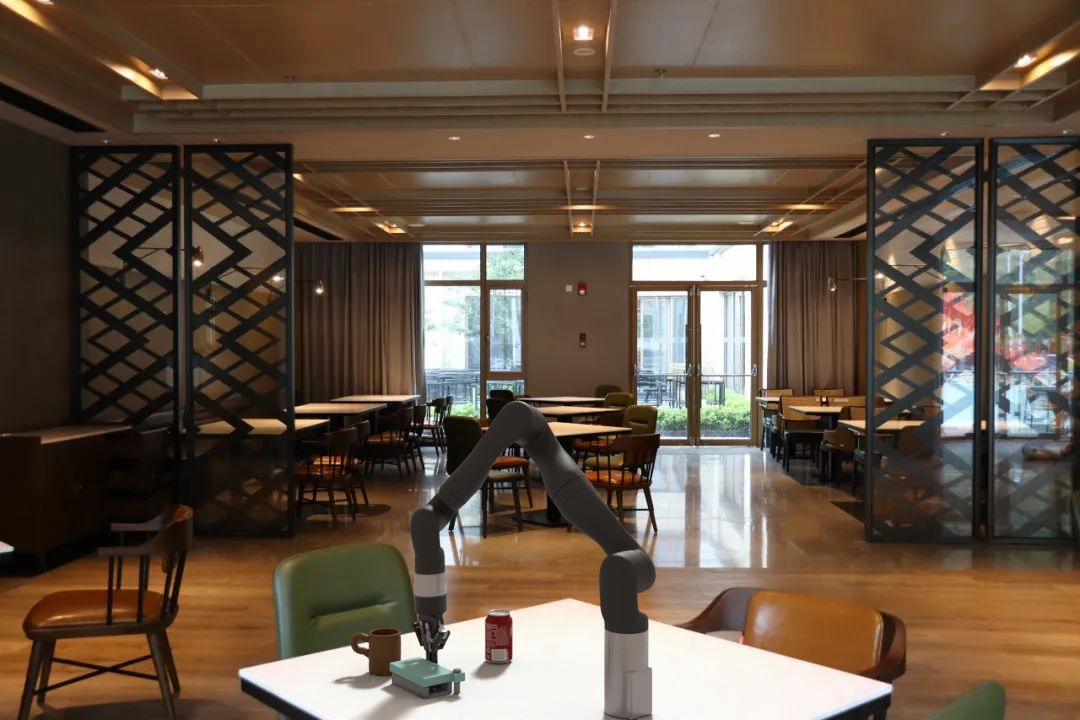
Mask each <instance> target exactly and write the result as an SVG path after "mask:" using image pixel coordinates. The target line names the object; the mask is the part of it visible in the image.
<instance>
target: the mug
mask: <svg viewBox="0 0 1080 720" xmlns="http://www.w3.org/2000/svg"><path fill="white" fill-rule="evenodd" d="M368 633H369V634H367V633H365V632H364V633H363V632H357V633H354V634H353V635H352V636H351V639H350V642H349V643H350V646H351V649H352V651H354V653H356V654H358V655H361V656H362V655H363V656H364V657H366V658H367V659H368V671H369V674H371V675H373V676H377V677H387V676H388V677H389V676H392V673H393V672H391V671H390V663H392V662H397V661H401V660H402V633H401V630H400V629H397V628H393V627H392V628H389V627H384V628H375V629H372V630H371V631H369V632H368ZM358 640H361V641H363V642H366V643H368V647H364V646H361V645H359V644H358Z"/></svg>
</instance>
